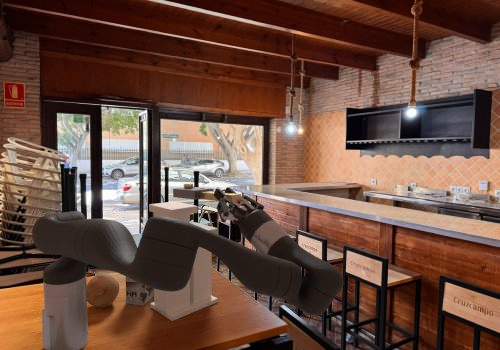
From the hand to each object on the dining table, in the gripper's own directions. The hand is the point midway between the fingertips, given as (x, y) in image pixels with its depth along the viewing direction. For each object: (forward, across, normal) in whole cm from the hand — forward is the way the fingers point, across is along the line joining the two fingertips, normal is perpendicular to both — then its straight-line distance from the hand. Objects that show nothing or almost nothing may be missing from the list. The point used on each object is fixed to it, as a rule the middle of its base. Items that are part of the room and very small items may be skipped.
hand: (221, 190), depth 86 cm
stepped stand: (0, +4, -44) cm, 44 cm away
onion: (+15, -15, -53) cm, 57 cm away
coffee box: (+11, -4, -51) cm, 52 cm away
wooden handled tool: (+4, 0, -5) cm, 6 cm away
